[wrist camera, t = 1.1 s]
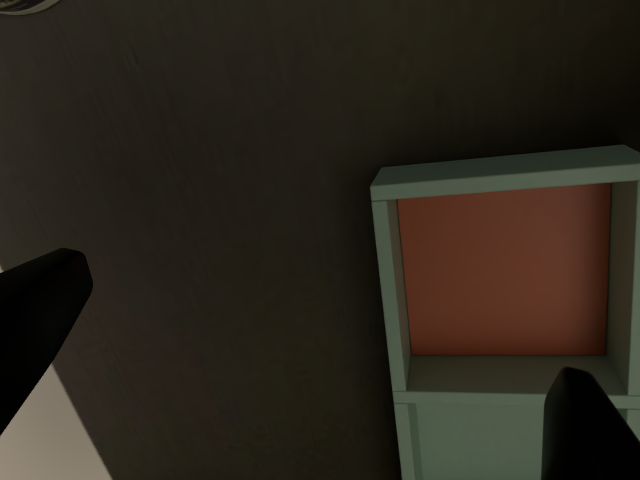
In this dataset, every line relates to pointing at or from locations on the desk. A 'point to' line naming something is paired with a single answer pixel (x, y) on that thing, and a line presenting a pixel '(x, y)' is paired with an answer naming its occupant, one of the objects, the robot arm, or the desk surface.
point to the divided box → (505, 300)
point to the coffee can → (24, 6)
